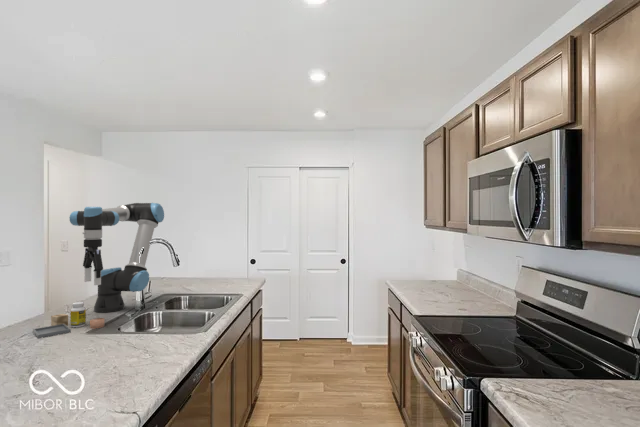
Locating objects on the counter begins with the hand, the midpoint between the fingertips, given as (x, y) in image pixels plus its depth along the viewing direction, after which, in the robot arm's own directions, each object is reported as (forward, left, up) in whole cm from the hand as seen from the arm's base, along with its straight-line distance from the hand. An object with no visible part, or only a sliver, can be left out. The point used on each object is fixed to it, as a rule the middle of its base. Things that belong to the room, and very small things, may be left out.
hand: (92, 283), depth 178 cm
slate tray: (+16, -3, -21) cm, 26 cm away
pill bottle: (+5, -6, -21) cm, 22 cm away
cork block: (+11, -13, -21) cm, 27 cm away
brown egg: (-1, +2, -21) cm, 21 cm away
